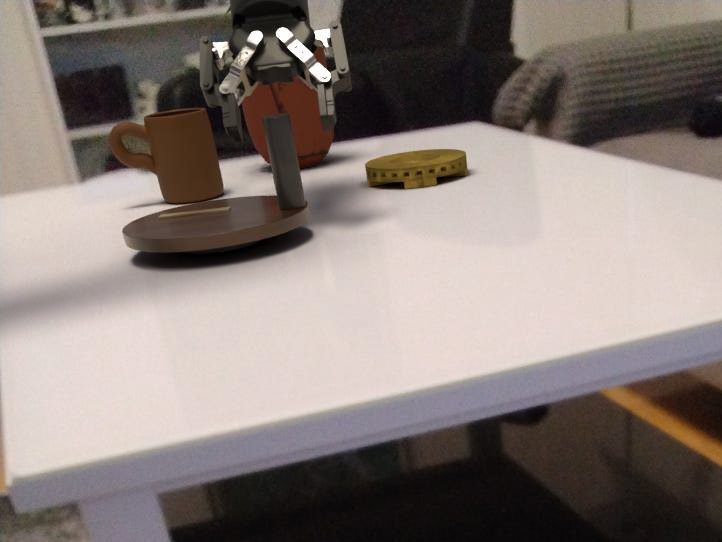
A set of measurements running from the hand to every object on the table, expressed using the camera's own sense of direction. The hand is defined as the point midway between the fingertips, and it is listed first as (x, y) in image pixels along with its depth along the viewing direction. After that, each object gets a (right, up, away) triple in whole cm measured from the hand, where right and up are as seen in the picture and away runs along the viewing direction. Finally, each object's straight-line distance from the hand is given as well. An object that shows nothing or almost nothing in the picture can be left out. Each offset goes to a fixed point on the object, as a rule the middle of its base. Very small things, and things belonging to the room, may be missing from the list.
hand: (281, 131), depth 97 cm
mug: (-18, +5, +28) cm, 34 cm away
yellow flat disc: (+11, +7, +25) cm, 28 cm away
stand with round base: (-7, -9, +4) cm, 12 cm away
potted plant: (-5, +15, +40) cm, 43 cm away
